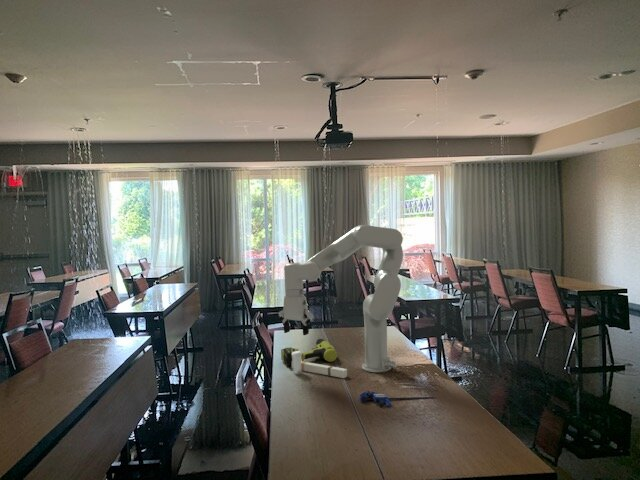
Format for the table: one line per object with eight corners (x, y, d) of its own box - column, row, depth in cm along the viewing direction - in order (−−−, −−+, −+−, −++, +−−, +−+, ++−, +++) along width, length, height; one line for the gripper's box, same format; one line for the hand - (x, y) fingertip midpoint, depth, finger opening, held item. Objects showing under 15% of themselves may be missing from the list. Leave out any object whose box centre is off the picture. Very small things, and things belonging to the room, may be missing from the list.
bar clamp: (363, 402, 147) (358, 391, 157) (362, 409, 147) (358, 397, 157) (457, 400, 149) (446, 389, 159) (457, 407, 149) (446, 396, 159)
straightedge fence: (347, 376, 179) (347, 368, 179) (344, 378, 177) (343, 370, 177) (295, 366, 193) (294, 359, 193) (291, 368, 191) (291, 361, 190)
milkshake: (295, 370, 188) (295, 346, 188) (305, 372, 185) (304, 348, 185) (288, 372, 185) (287, 349, 185) (297, 375, 182) (297, 351, 181)
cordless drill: (276, 352, 216) (325, 347, 222) (285, 369, 192) (340, 363, 198) (276, 338, 215) (325, 333, 221) (284, 353, 191) (339, 348, 197)
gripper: (316, 292, 182) (318, 333, 183) (283, 290, 192) (285, 329, 192) (306, 295, 176) (308, 337, 177) (272, 293, 185) (274, 333, 186)
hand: (296, 333), depth 185 cm, fingers open, 9 cm apart
